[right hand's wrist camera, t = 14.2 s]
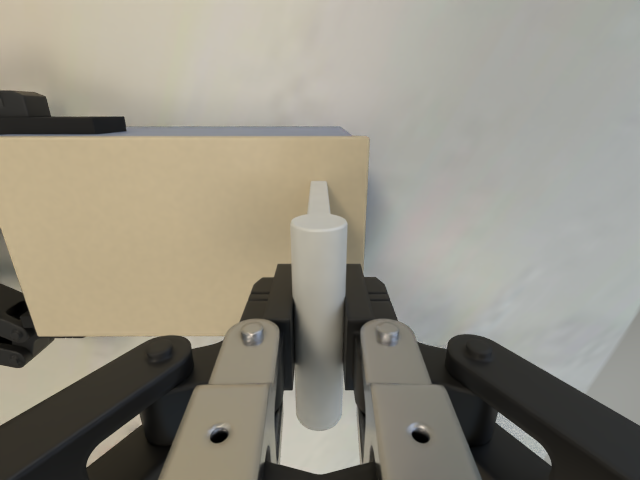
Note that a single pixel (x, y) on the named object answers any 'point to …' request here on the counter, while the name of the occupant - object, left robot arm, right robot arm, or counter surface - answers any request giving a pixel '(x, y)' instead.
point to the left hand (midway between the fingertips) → (131, 226)
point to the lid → (189, 238)
